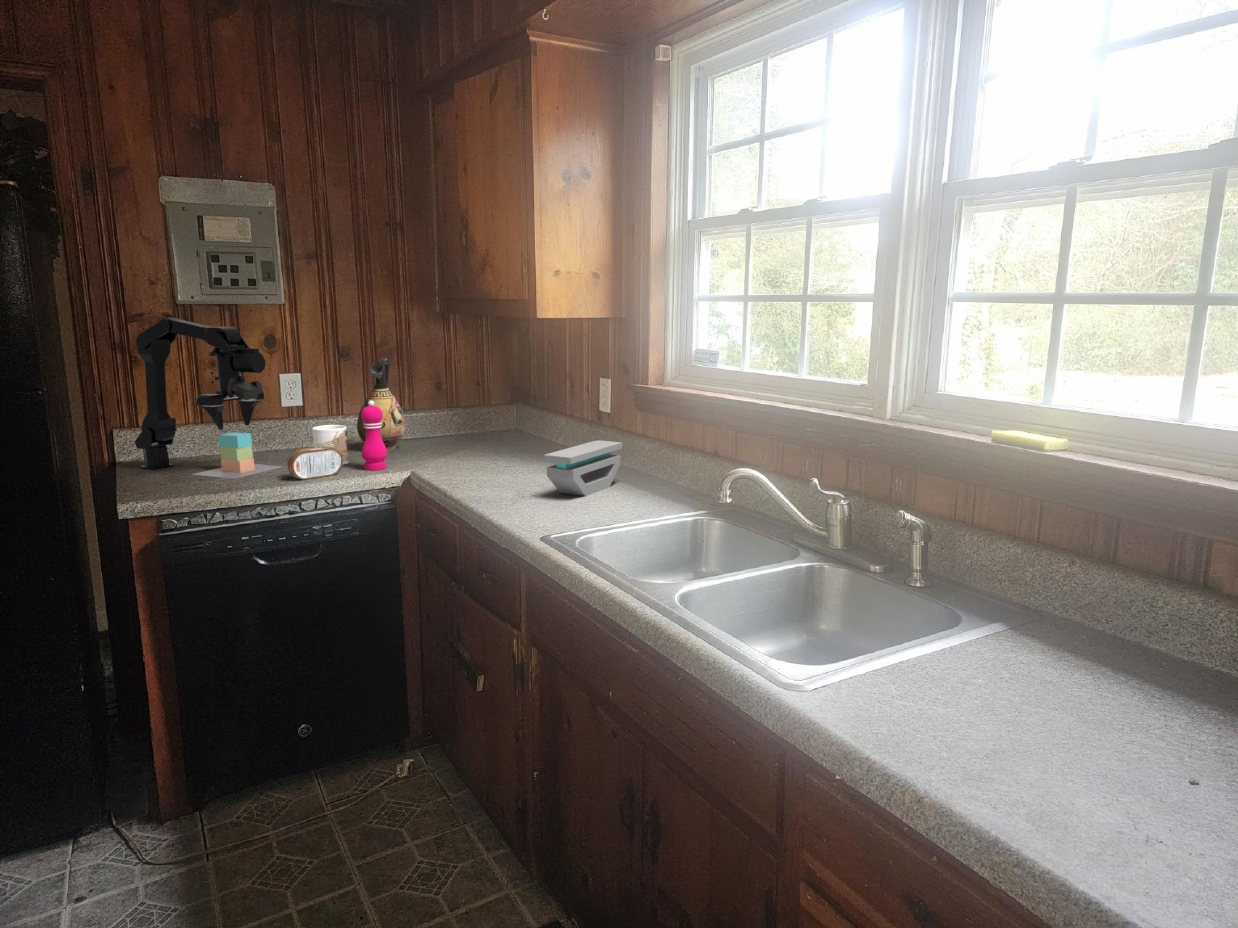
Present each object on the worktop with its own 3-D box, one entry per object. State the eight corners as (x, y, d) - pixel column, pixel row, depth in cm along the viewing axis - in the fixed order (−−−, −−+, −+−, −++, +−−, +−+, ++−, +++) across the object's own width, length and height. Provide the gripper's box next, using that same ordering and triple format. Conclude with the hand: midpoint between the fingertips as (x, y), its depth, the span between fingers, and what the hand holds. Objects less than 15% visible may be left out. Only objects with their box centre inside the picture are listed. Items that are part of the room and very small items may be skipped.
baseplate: (191, 476, 226) (191, 474, 226) (242, 464, 242) (242, 462, 242) (234, 480, 220) (233, 478, 220) (283, 468, 237) (283, 466, 236)
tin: (340, 472, 231) (338, 443, 229) (345, 474, 229) (343, 445, 227) (288, 480, 220) (285, 450, 219) (293, 482, 218) (290, 452, 217)
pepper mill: (380, 471, 232) (376, 402, 228) (357, 470, 234) (353, 401, 230) (392, 466, 239) (388, 399, 235) (370, 465, 241) (365, 398, 237)
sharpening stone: (597, 479, 221) (597, 440, 218) (622, 482, 217) (622, 442, 215) (544, 498, 199) (543, 454, 197) (571, 501, 195) (570, 457, 193)
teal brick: (219, 446, 229) (218, 434, 228) (233, 444, 233) (232, 432, 233) (238, 448, 226) (237, 436, 226) (252, 445, 231) (251, 433, 230)
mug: (305, 464, 242) (302, 428, 240) (333, 457, 253) (331, 423, 251) (333, 467, 238) (331, 430, 236) (360, 460, 249) (358, 424, 247)
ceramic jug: (399, 453, 260) (394, 360, 255) (352, 453, 261) (345, 360, 255) (413, 444, 277) (408, 356, 271) (368, 444, 277) (363, 356, 272)
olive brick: (221, 458, 230) (220, 446, 229) (236, 455, 234) (235, 444, 234) (237, 460, 227) (236, 448, 226) (252, 457, 231) (251, 445, 230)
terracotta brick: (222, 471, 230) (220, 459, 230) (236, 467, 235) (235, 456, 234) (240, 472, 228) (239, 460, 227) (254, 469, 232) (253, 457, 232)
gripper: (222, 375, 214) (228, 433, 217) (276, 370, 231) (281, 424, 234) (192, 374, 218) (198, 431, 221) (247, 369, 235) (252, 422, 238)
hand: (234, 427), depth 229 cm, fingers open, 9 cm apart
